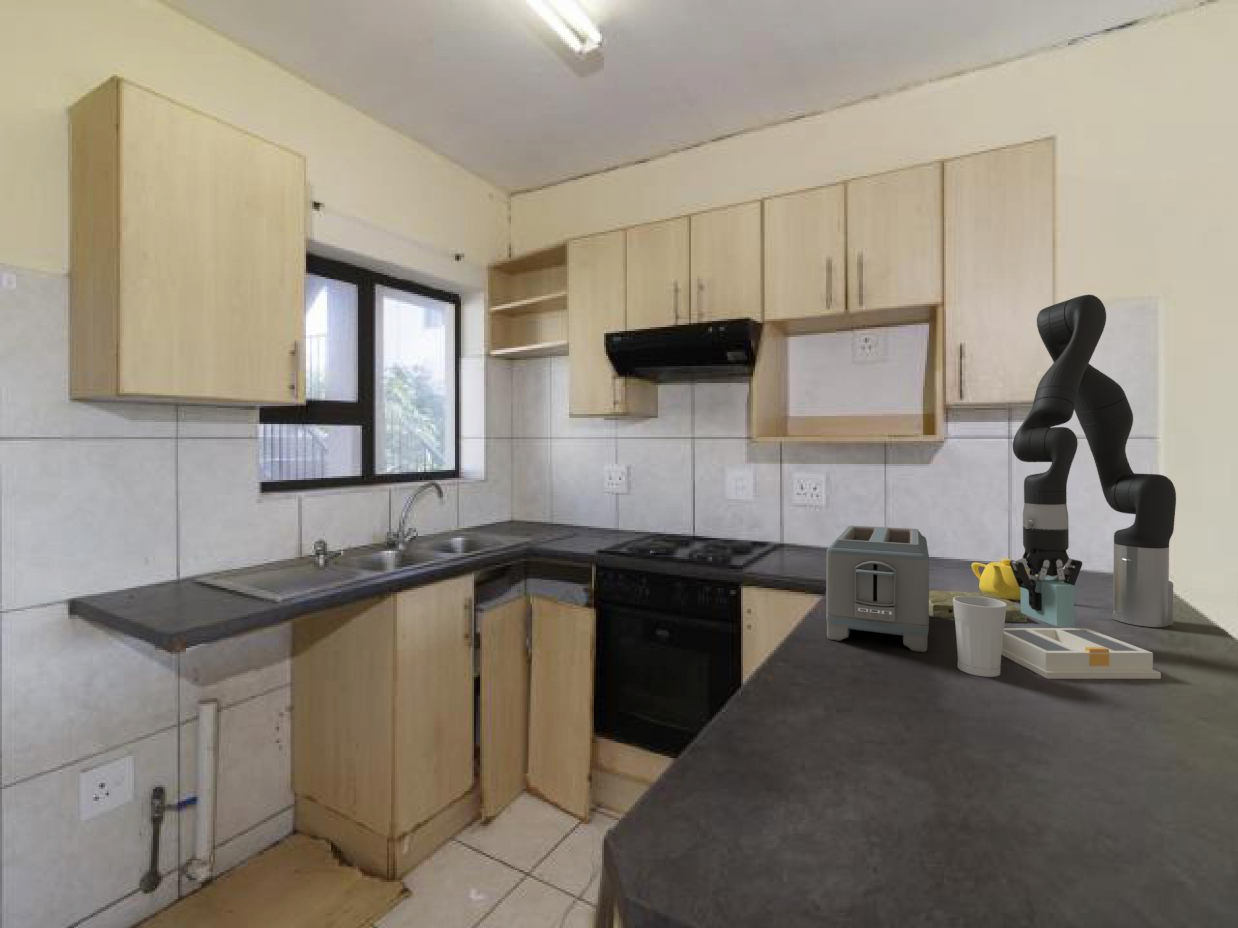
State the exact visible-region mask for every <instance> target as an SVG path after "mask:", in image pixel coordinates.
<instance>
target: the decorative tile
mask: <svg viewBox="0 0 1238 928" xmlns="http://www.w3.org/2000/svg"><path fill="white" fill-rule="evenodd" d="M957 596H978V597H986V598H991V599H996V600H999V601H1002V602H1004V603H1006V604H1007V607H1006V616H1005V622H1009V623H1010V622H1012V623H1013V622H1015V623H1028V618H1027V615H1025V614H1023V613H1021V607H1019V606H1017V605H1015V604H1014V603H1013V601H1011V600H1010V599H1004V598H1001V597H1000V596H997V595H993V594H991V593H982V592H975V591H974V592H973V591H949V590H948V591H946V590H929V616H931V617H934V618H942V619H943V618H945V619H946V618H954V619H955V617H954V607H953V598H954V597H957Z"/></svg>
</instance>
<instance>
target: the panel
mask: <svg viewBox="0 0 1238 928" xmlns="http://www.w3.org/2000/svg"><path fill="white" fill-rule="evenodd" d="M1035 575H1036V574H1035ZM1036 576H1038V575H1036ZM1040 593H1042V610H1041V611H1036V610H1034V609H1032V608H1031V606H1030V605H1029V591H1028V590H1027V589H1025V588H1021V600H1020V608H1021V613H1023V614H1025V615H1026V616H1028V617H1032V618H1033V619H1036V620H1039V621H1042V622H1044V623H1047V624H1049V625H1052V626H1055V627H1057V628H1062V627H1075V623H1076V621H1075V585H1071V584H1067V583H1064V582H1060V581H1055V580H1052V579H1048V578H1047V577H1046V578H1045V581H1044V582H1042V588H1041V591H1040Z"/></svg>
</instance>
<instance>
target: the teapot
mask: <svg viewBox="0 0 1238 928" xmlns="http://www.w3.org/2000/svg"><path fill="white" fill-rule="evenodd" d="M1011 560H1012V559H1011V558H1001V559H1000V561H1001V562H1000V561H993V562H992V561H991V562H989V563H988V564H985V563H981V562H976V561H975V562H972V563H971V566H970V567H971V569H972V572H973V573H974V575H975V576H976V578H978V580H979V583H978V584H979V585H978V586H979V589H980V593H991V594H993V595H997V596H1000V597H1001V598H1002V599H1006V600H1010V601H1021V587H1019V586H1018V583H1017V581H1016V579H1015V576H1014V574H1013V571H1012V569H1011V566H1010V561H1011ZM979 567H982V568H984V569H983V571H982V573H981V572H980V570H979ZM1028 569H1029V568H1027V569H1026V572H1027V574H1028Z"/></svg>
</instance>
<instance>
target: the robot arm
mask: <svg viewBox="0 0 1238 928" xmlns="http://www.w3.org/2000/svg"><path fill="white" fill-rule="evenodd" d="M1106 322H1107V310H1106V307H1105V305H1104V303H1103V301H1102V300H1101V299H1100V298H1099V297H1098V296H1096V295H1094V294H1083V295H1079V296H1077V297H1076V296H1075V297H1073V298H1069V299H1068V300H1065V301H1061V302H1059V303H1055V304H1052V305H1048V306H1046V307H1044V308H1042V309H1040V311H1039V312H1038V314H1037V317H1036V326H1037V331H1038V334H1039V337H1040V338H1041V340H1042V341H1041V342H1042V343H1043V344H1044V346H1045V348H1046V351H1047V352H1048V354H1049V356H1050V358H1051V360H1052V362H1053V364H1051V366H1050V367H1049V368H1048V369H1047V370H1046V371H1045V373H1044V374H1043V375H1042V377H1041V378H1040V381H1039V382H1038V385H1037V388H1036V391H1035V393H1034V398H1033V402H1032V407H1031V410H1030V411H1029V412H1028V414H1027V416H1026V417H1025V419H1024V421H1022V423H1021V425H1020V426H1019V428H1018V430H1017V431H1016V432H1015V434H1014V438H1013V441H1012V451H1013V454H1014V456H1015V457H1016V459H1018V460H1019V461H1020V462H1025V463H1051V464H1050V467H1049V468H1048V470H1046V471H1045V472H1040V473H1035V474H1030V475H1027V476H1025V478H1024V480H1023V510H1022V546H1023V548H1024V553H1023V555H1022V558H1020V559H1018V560H1013V559H1011V561H1010V566H1011V569H1012V571H1013V574H1014V576H1015V579H1016V581H1017V583H1018V586H1019V587H1021V588H1025V589H1027V590H1028V591H1029V605H1030V606H1031V608H1032V609H1034V610H1036V611H1041V610H1042V593H1040V591H1041V588H1042V582H1044V581H1045V578H1048V579H1052V580H1055V581H1060V582H1064V583H1067V584H1071V585H1074V586H1075V585H1076V583H1077V579H1078V577H1079V574H1080V572H1081V569H1082V567H1083V561H1081V560H1078V559H1074V558H1070V557H1069V555H1068V553H1067V550H1069V547H1070V545H1069V544H1070V540H1069V533H1070V532H1069V511H1068V504H1067V502H1068V501H1067V485H1068V479H1069V474H1070V470H1071V468H1072V464H1073V462H1074V458H1075V456H1076V453H1077V450H1078V445H1079V443H1078V437H1077V435H1076V434H1075V432H1074V431H1073V430H1072V429H1070V428H1068V427H1065V426H1060V425H1064V424H1066V423H1068V422H1069V421H1071V419H1072V418H1073V415H1074V412H1075V415H1076V417H1077V420H1078V421H1079V424H1080V427H1081V429H1082V431H1083V433H1084V436H1085V439H1086V440H1087V443H1088V447H1089V450H1090V452H1091V454H1092V458H1093V460H1094V464H1095V467H1096V471H1097V474H1098V475H1097V476H1098V478H1099V483H1100V486H1101V490H1102V493H1103V496H1104V498H1105V501H1106V503H1107V504H1108V506H1109V507H1110V508H1111V509H1113V510H1114V511H1115V512H1118V513H1122V514H1130V515H1135V517H1134V522H1133V523H1132V524H1131V526H1129V527H1126V528H1122V529H1117V530H1116V531H1115V532H1114V533H1113V569H1112V570H1113V578H1112V579H1113V581H1112V583H1113V586H1112V587H1113V590H1112V618H1113V619H1114V620H1115V621H1118V622H1121V623H1124V624H1129V625H1134V626H1139V627H1140V626H1141V627H1149V628H1166V627H1168V626H1173V625H1174V621H1173V620H1174V619H1173V618H1174V614H1173V613H1174V583H1173V581H1171V580H1170V578H1169V577H1170V576H1169V575H1170V541H1171V539H1172V536H1173V534H1174V531H1175V530H1174V528H1175V515H1176V508H1177V507H1176V505H1177V492H1176V487H1175V486H1174V483H1173V482H1172V480H1171V479H1170V478H1169V477H1167V476H1165V475H1163V474H1159V473H1157V474H1156V473H1135V472H1134V471H1133V470H1132V468H1131V465H1130V462H1129V460H1128V457H1127V453H1126V446H1127V443H1128V441H1129V440H1128V439H1129V437H1130V434H1131V432H1132V428H1133V424H1134V415H1133V414H1134V413H1133V410H1132V408H1131V405H1130V403H1129V400H1128V397H1127V396H1126V393H1125V391H1124V389H1123V388H1122V386H1121V385H1120V384H1119V383H1118V382H1116V381H1115V380H1114V379H1113V378H1111V377H1110V376H1108V375H1107V374H1105V373H1103V372H1102V371H1100V370H1099V369H1097V368H1096V367H1094V366H1093V365H1091V364H1090V361H1091V359H1092V357H1093V355H1094V352H1095V350H1096V348H1097V346H1098V343H1099V341H1100V339H1101V337H1102V335H1103V332H1104V330H1105V328H1106V327H1105V326H1106ZM1026 569H1028V574H1027V572H1026ZM1036 575H1038V576H1036Z"/></svg>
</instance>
